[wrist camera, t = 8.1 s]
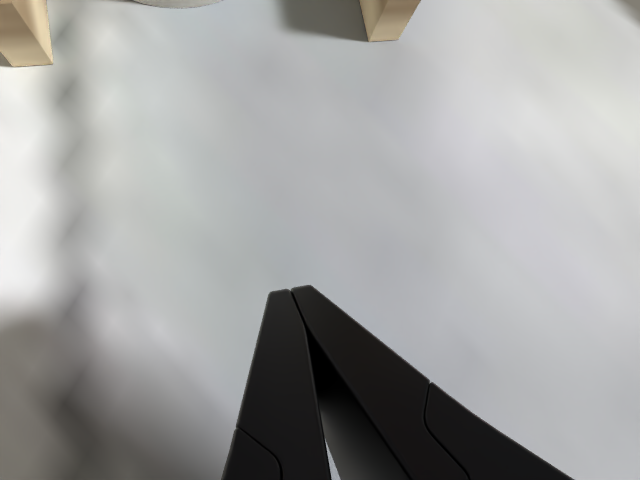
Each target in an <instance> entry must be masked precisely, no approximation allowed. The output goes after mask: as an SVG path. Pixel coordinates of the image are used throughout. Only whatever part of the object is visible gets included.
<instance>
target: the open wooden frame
mask: <svg viewBox="0 0 640 480" xmlns="http://www.w3.org/2000/svg"><path fill="white" fill-rule="evenodd" d="M359 1H360V5H361V10H362V14H363V19H364V23H365V28H366V32H367V37H368V41H369V42H371V41H385V40H398V39H399V37H400V36H401V34H402V32H403V30H404V29H405V27H406V25H407V23H408V22H409V20H410V18H411V16H412V15H413V13H414V11H415V10H416V8H417V6H418V4H419V3H420V1H421V0H359ZM0 52H1V53H2V54H3V55H4V57H5V58H6V59H7V60H8V61H9V63H10V64H11V65H12V66H13V67H19V66H33V65H47V64H53V57H52V48H51V40H50V31H49V22H48V13H47V5H46V0H0Z"/></svg>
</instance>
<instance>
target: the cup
mask: <svg viewBox="0 0 640 480" xmlns="http://www.w3.org/2000/svg"><path fill="white" fill-rule="evenodd" d="M133 1H136V2H139V3H143V4H147V5H152V6H158V7H166V8H191V7H199V6H204V5H209V4H213V3H216V2H219V1H222V0H133Z"/></svg>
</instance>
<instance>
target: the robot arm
mask: <svg viewBox="0 0 640 480" xmlns="http://www.w3.org/2000/svg"><path fill="white" fill-rule="evenodd" d="M325 439H326V442H327V445H328V447H329V450H330V452H331V455H332V458H333V460H334V463H335V466H336V468H337V471H338V474H339V476H340V479H341V480H574V479H573V478H571V477H569V476H568V475H566V474H565V473H563V472H562V471H560V470H558V469H557V468H555V467H554V466H552V465H551V464H549V463H548V462H546V461H545V460H543V459H542V458H540V457H538V456H537V455H535V454H534V453H532V452H531V451H529V450H528V449H526V448H525V447H523V446H521V445H520V444H518V443H517V442H515V441H514V440H512V439H511V438H509V437H508V436H506V435H505V434H503V433H501V432H500V431H498V430H497V429H496V428H494V427H493V426H491V425H490V424H488V423H487V422H485V421H484V420H482V419H481V418H479V417H478V416H476V415H475V414H474V413H472V412H471V411H469V410H468V409H467V408H465V407H464V406H463V405H462V404H460V403H459V402H458V401H456V400H455V399H454V398H452V397H451V396H450V395H448V394H447V393H446V392H444V391H443V390H442V389H441V388H439V387H438V386H437V385H436V384H434V383H433V382H431V383H430V380H429V379H428V378H427V377H425V376H424V375H423V374H422V373H420V372H419V371H418V370H417V369H415V368H414V367H413V366H412V365H410V364H409V363H408V362H407V361H405V360H404V359H403V358H402V357H400V356H399V355H398V354H397V353H395V352H394V351H393V350H392V349H390V348H389V347H388V346H387V345H385V344H384V343H383V342H382V341H380V340H379V339H378V338H377V337H375V336H374V335H373V334H372V333H370V332H369V331H368V330H367V329H365V328H364V327H363V326H362V325H360V324H359V323H358V322H357V321H355V320H354V319H353V318H352V317H350V316H349V315H348V314H347V313H345V312H344V311H343V310H342V309H340V308H339V307H338V306H337V305H335V304H334V303H333V302H331V301H330V300H329V299H328V298H326V297H325V296H324V295H323V294H321V293H320V292H319V291H318V290H316V289H315V288H314V287H313V286H311V285H305V286H300V287H294V288H292V289H291V291H290V290H289V289H283V290H277V291H272V292H270V293H269V295H268V298H267V302H266V307H265V311H264V315H263V319H262V323H261V327H260V331H259V335H258V339H257V343H256V347H255V351H254V355H253V359H252V363H251V367H250V371H249V375H248V379H247V383H246V387H245V391H244V395H243V399H242V403H241V407H240V411H239V415H238V419H237V423H236V429H235V431H234V434H233V438H232V442H231V446H230V450H229V454H228V457H227V461H226V464H225V468H224V471H223V474H222V478H221V480H332V479H331V473H330V467H329V461H328V455H327V449H326V443H325Z"/></svg>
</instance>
